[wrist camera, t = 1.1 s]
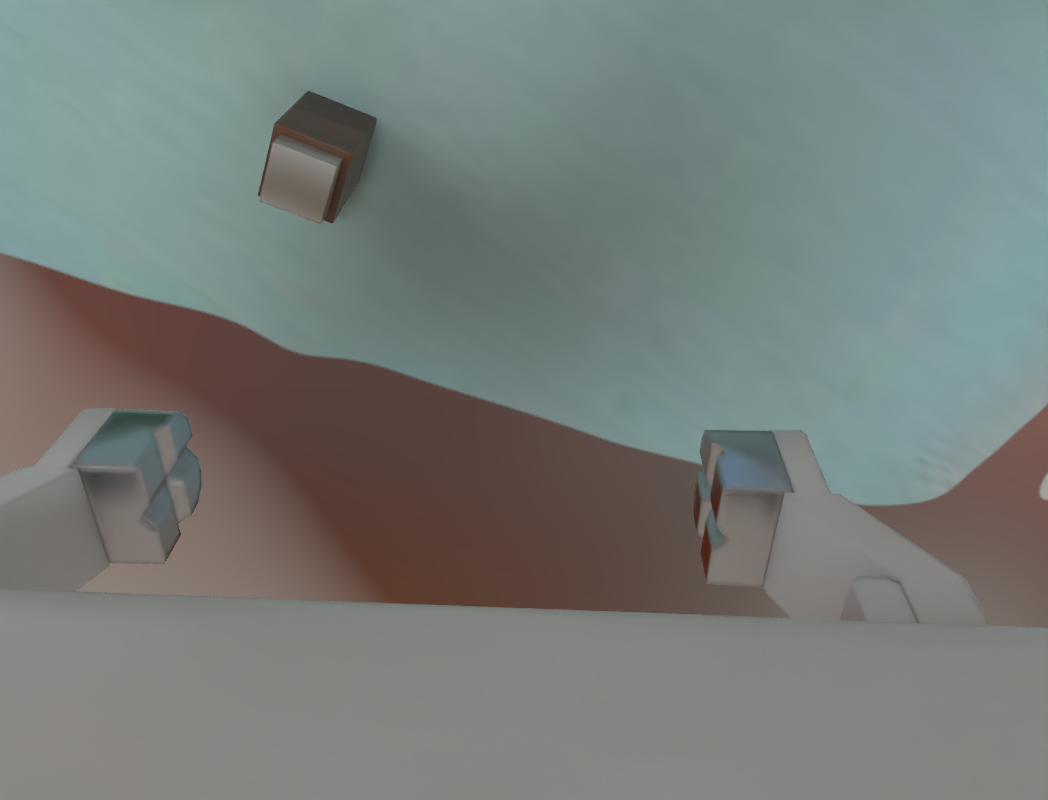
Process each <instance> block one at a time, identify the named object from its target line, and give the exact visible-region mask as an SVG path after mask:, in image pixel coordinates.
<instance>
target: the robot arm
mask: <svg viewBox="0 0 1048 800" xmlns="http://www.w3.org/2000/svg"><path fill="white" fill-rule="evenodd" d="M191 437H192V432H191V428H190V424H189V420H188V418H187V417H186V416H185V415H184V414H183V413H182V412H168V411H148V410H130V409H129V410H128V409H120V410H119V409H110V408H89V409H85V410H82V411H81V412H80V413H79V414H78V415H77V417H76V418H75V419H74V420H73V421H72V422H71V424H70V425H69V426H68V427H67V428H66V429H65V431H64V432H63V433H62V434H61V435H60V437H59V438H58V439H57V440H56V441H55V442H54V443H53V445H52V446H51V447H50V448H49V449H48V451H47V452H46V453H45V454H44V455H43V456H42V458H41V459H40V460H39V461H38V462H37V464H36V465H35V466H34V467H22V468H20V469H18V470H15V471H13V472H12V473H9V474H7V475H5V476H3V477H0V800H1048V628H1027V627H1001V626H991V624H990V623H989V621H988V619H987V617H986V615H985V613H984V611H983V610H982V608H981V606H980V604H979V602H978V600H977V599H976V597H975V595H974V593H973V591H972V589H971V588H970V586H969V584H968V582H967V580H966V579H965V578H964V577H962V576H960V575H959V574H958V573H956V572H955V571H953V570H952V569H950V568H949V567H947V566H946V565H944V564H943V563H941V562H940V561H938V560H937V559H936V558H934V557H933V556H931V555H930V554H928V553H927V552H925V551H924V550H922V549H921V548H919V547H918V546H916V545H914V544H913V543H912V542H910V541H909V540H907V539H906V538H904V537H903V536H901V535H900V534H898V533H897V532H895V531H894V530H892V529H891V528H889V527H888V526H887V525H885V524H884V523H882V522H881V521H879V520H878V519H876V518H875V517H873V516H872V515H870V514H869V513H867V512H866V511H864V510H863V509H861V508H860V507H858V506H857V505H855V504H854V503H852V502H851V501H849V500H848V499H846V498H845V497H843V496H842V495H840V494H831V492H830V490H829V488H828V485H827V483H826V481H825V478H824V476H823V473H822V471H821V469H820V466H819V464H818V462H817V459H816V457H815V454H814V452H813V450H812V447H811V445H810V443H809V440H808V438H807V435H806V434H805V433H804V432H803V431H801V430H769V431H736V430H705V431H704V434H703V437H702V442H701V448H700V454H701V459H702V464H703V469H702V470H701V471H700V472H699V473H698V474H697V475H696V482H695V490H694V517H695V526H696V531H697V534H699V535H700V536H701V537H702V538H703V542H702V548H701V557H702V562H703V567H704V572H705V577H706V581H707V584H720V585H735V586H751V587H763V591H764V592H765V593H766V594H767V595H768V596H769V597H770V598H771V599H772V600H773V601H774V602H775V603H776V604H777V605H778V606H779V607H780V609H781V610H782V611H783V612H784V613H785V614H786V615H787V616H788V617H789V618H767V617H740V616H715V615H688V614H687V615H686V614H662V613H661V614H660V613H635V612H607V611H581V610H555V609H554V610H553V609H528V608H500V607H474V606H473V607H472V606H448V605H447V606H446V605H421V604H394V603H368V602H341V601H340V602H339V601H315V600H313V601H312V600H288V599H261V598H259V599H258V598H233V597H207V596H182V595H153V594H129V593H101V592H75V591H77V590H78V589H79V588H81V587H82V586H83V585H85V584H86V583H87V582H89V581H90V580H91V579H93V578H94V577H95V576H97V575H98V574H99V573H101V572H102V571H103V570H105V569H106V568H107V567H109V563H136V564H137V563H138V564H139V563H140V564H165V562H166V560H167V558H168V557H169V555H170V553H171V551H172V549H173V548H174V546H175V544H176V542H177V540H178V539H179V537H180V535H181V533H180V529H179V525H178V523H180V522H181V521H183V520H184V519H186V518H188V517H189V516H191V515H192V513H193V511H194V509H195V507H196V505H197V503H198V500H199V495H200V490H201V469H200V465H199V460H198V458H197V457H196V456H195V455H194V454H193V453H192V452H191V451H190V450H189V449H188V448H187V447H186V445H187V443H188V442H189V440H190V438H191Z"/></svg>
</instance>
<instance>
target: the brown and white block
mask: <svg viewBox="0 0 1048 800" xmlns="http://www.w3.org/2000/svg"><path fill="white" fill-rule="evenodd" d="M375 123H376V118H375V117H372V116H370V115H367V114H365V113H362V112H360V111H357V110H355V109H352V108H350V107H347V106H345V105H342V104H340V103H337V102H335V101H332V100H330V99H327V98H325V97H322V96H320V95H317V94H315V93H312V92H310V91H308V92H307V93H306V94H305V95H303V96H302V97H301V98H300V99H299V100H298V101H297V102H296V103H295V104H294V105H293V106H292V107H291V108H290V109H289V110H288V111H287V112H286V113H285V114H284V115H283V116H282V117H281V118H280V119H279V120H278V121H277V122H276V123H275V124H274V129H273V133H272V137H271V141H270V146H269V150H268V154H267V159H266V163H265V167H264V171H263V176H262V180H261V184H260V189H259V193H258V196H260V199H259V201H260V202H263V203H266V204H268V205H271V206H274V207H276V208H279V209H282V210H284V211H287V212H290V213H292V214H295V215H298V216H300V217H303V218H306V219H308V220H311V221H314V222H316V223H319V224H321V223H322V221H323V220H324V221H327V222H330V223H333V222H334V220H335V219H336V217H337V215H338V214H339V212H340V211H341V209H342V207H343V206H344V204H345V202H346V201H347V199H348V197H349V196H350V194H351V192H352V191H353V189H354V187H355V186H356V184H357V183H358V180H359V177H360V173H361V170H362V167H363V163H364V160H365V156H366V153H367V150H368V146H369V143H370V140H371V136H372V133H373V130H374V126H375Z"/></svg>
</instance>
